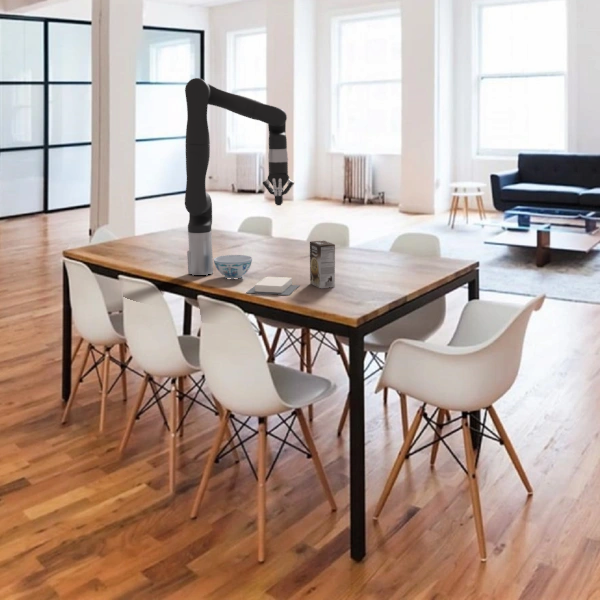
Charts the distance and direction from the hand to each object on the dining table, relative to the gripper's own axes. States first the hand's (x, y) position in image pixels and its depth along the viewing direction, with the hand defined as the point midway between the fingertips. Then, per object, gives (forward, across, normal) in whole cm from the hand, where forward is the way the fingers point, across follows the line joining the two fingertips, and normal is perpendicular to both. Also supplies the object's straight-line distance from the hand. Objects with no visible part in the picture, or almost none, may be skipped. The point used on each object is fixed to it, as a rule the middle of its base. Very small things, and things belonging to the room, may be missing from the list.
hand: (278, 205), depth 287 cm
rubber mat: (+27, +6, -30) cm, 41 cm away
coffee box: (+27, +22, -20) cm, 40 cm away
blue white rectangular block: (+25, +6, -22) cm, 34 cm away
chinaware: (+27, -15, -14) cm, 34 cm away
